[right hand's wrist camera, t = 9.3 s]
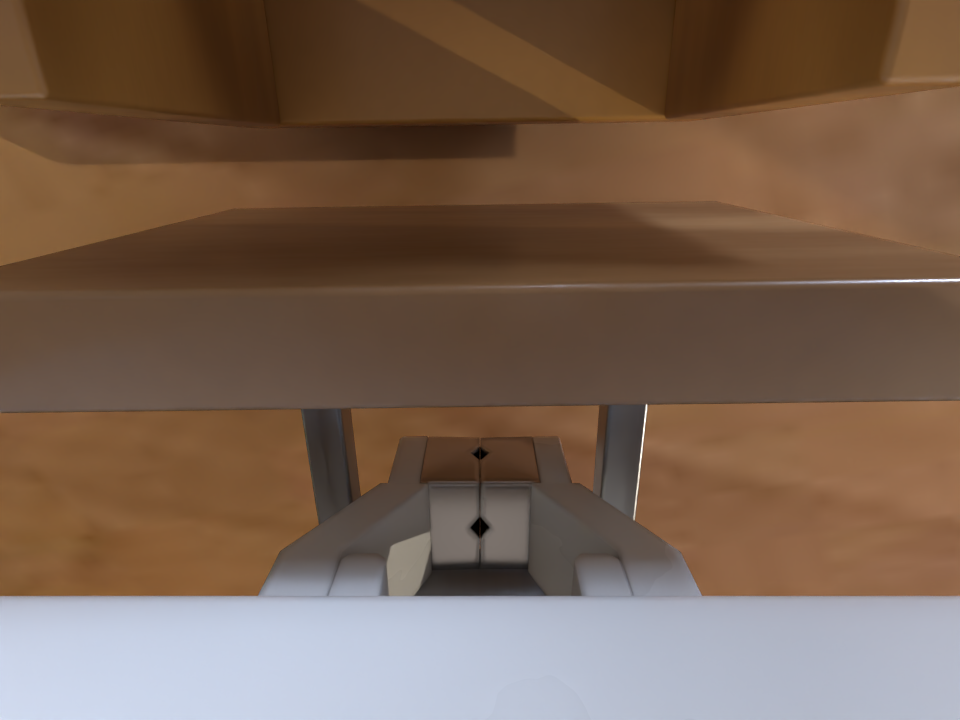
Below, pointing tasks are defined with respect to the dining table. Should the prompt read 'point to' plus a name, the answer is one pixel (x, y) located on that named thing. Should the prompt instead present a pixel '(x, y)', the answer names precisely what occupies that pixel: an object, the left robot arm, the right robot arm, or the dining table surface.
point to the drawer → (474, 226)
